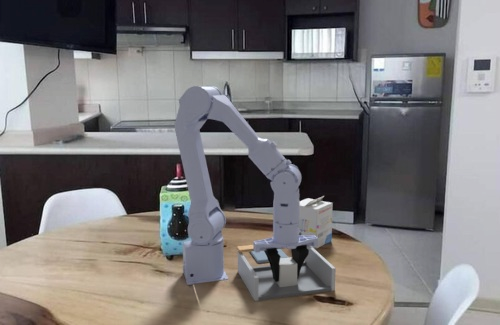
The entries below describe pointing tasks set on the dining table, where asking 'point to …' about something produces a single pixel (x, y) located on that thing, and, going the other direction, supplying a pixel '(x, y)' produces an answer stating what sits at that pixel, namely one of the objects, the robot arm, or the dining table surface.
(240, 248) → the bar
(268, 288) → the case
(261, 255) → the pad
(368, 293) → the dining table surface
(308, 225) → the ink box
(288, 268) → the block
